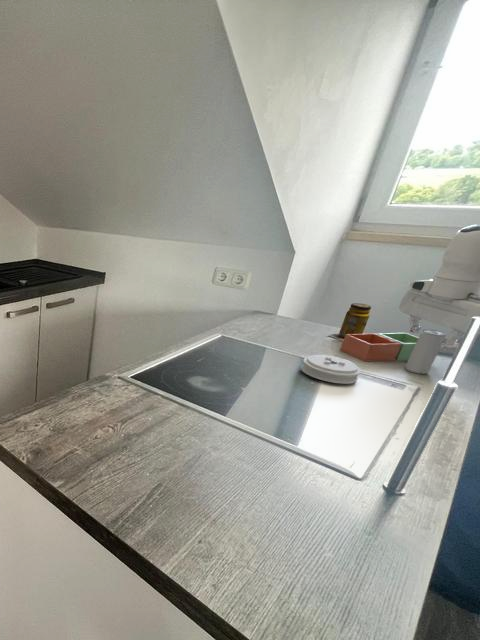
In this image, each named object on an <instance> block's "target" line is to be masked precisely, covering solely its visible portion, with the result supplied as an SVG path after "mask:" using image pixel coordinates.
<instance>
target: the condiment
mask: <svg viewBox="0 0 480 640" xmlns="http://www.w3.org/2000/svg"><path fill="white" fill-rule="evenodd" d="M371 309H372V306H371V305H369V304H365V303H358V302H355V303H351V304H350V307H349V309H348V310H347V311H346V313H345V316H344V318H343V321H342V324H341V327H340V330H339V332H338V333H331V334H330V333H329V334H328V336H329V337H331V338H334V339H337V340H339V341H342V342H343V341H344V338H345V335H346V334H364V331H365V328H366V326H367V323H368V321H369V318H370V313H371Z"/></svg>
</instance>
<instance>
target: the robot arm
mask: <svg viewBox="0 0 480 640" xmlns="http://www.w3.org/2000/svg"><path fill="white" fill-rule="evenodd" d="M408 288H409V289H407V291H405V293H404V295H403V296H402V299H401V300H400V303H399V305H398V310H399V313H402V314H405V315H409V318H408V321H409V328H408V332H410V333H412V334H417V333H420V332H421V329H422V326H420V320H424V321H427V322H430V323H432V324H433V323H434V324H436V325H440V326H442V327H446V328H449V329H452V331H451V333H452V334H451V335H450V336H446V337H444V339H443V341H442V343H443V344H442V345H446V346H454V345H455V343H456V341H457V340H459V339H461V338H462V337H463V336H465V335H466V334H465V331H466V328H467V325H468V321H469V319H470V318H471V317H473V316H480V294H479V292H480V224H472V225H468V226H466V227H463V228H461V229H459V230H457V232H456V233H455V235H454V236H453V237H452V238H451V240H450V242H449V243H448V245H447V247H446V249H445V251H444V253H443V255H442V258H441V264H440V267H439V268H438V270H437V271H436V272H435V273H434V275H433V278H430V279H429V278H428V279H423V280H412V281H410V282H409V285H408ZM464 334H465V335H464ZM477 335H480V332H478V334H477Z"/></svg>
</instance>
